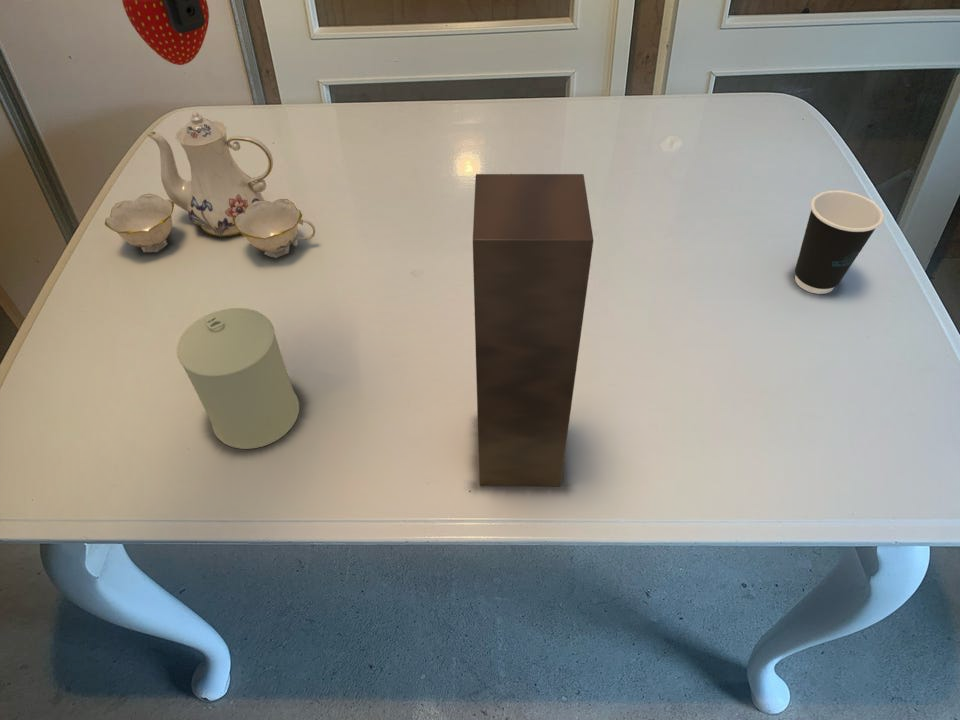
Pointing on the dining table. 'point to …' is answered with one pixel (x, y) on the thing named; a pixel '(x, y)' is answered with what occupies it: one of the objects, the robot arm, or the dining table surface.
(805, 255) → the dixie cup
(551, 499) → the dining table surface
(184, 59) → the fruit
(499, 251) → the plinth
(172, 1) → the robot arm
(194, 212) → the chinaware
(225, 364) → the can
